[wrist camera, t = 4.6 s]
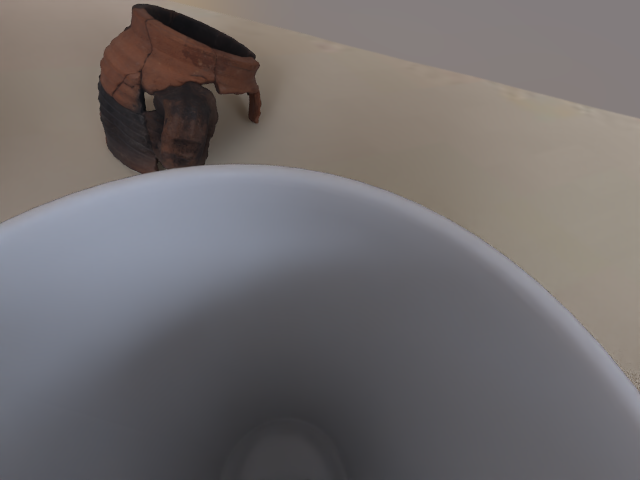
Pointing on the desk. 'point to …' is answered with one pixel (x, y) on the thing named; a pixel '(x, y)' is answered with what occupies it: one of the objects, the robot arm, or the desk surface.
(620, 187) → the desk surface
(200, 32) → the pottery mug
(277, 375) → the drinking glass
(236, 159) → the desk surface
